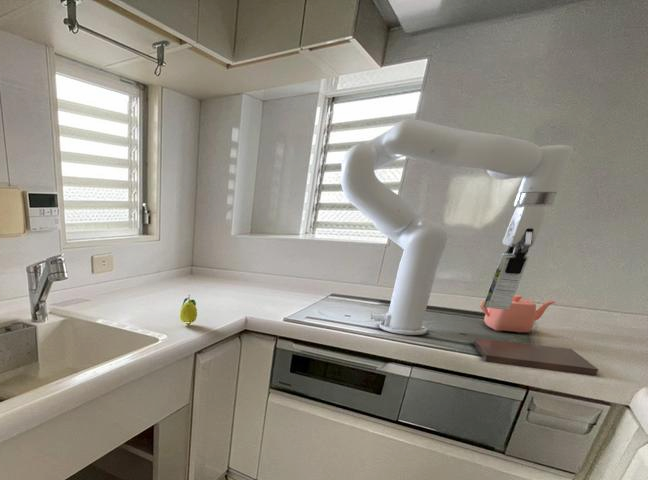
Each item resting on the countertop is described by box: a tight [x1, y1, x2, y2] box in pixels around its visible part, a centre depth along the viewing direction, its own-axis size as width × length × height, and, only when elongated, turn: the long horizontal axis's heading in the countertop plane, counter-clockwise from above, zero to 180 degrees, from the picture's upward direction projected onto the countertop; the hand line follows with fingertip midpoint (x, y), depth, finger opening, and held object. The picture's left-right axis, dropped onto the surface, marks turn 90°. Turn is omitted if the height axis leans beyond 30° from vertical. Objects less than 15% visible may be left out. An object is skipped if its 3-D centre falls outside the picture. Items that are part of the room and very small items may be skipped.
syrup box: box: [483, 253, 530, 310], centre depth 111 cm, size 6×6×14 cm
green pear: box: [179, 294, 198, 326], centre depth 129 cm, size 7×6×10 cm
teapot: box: [479, 294, 558, 334], centre depth 123 cm, size 12×18×10 cm, turn 66°
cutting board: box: [473, 337, 599, 376], centre depth 101 cm, size 20×16×2 cm
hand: (509, 271), depth 110 cm, fingers closed on syrup box, 6 cm apart
